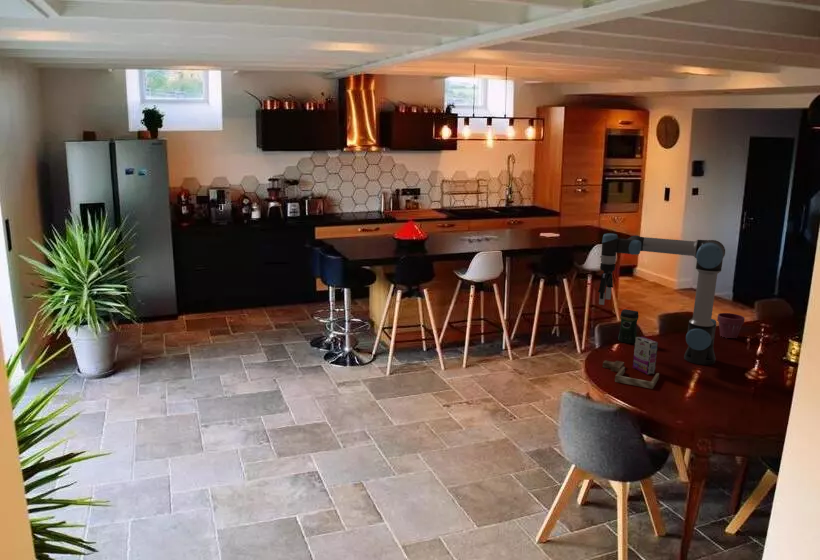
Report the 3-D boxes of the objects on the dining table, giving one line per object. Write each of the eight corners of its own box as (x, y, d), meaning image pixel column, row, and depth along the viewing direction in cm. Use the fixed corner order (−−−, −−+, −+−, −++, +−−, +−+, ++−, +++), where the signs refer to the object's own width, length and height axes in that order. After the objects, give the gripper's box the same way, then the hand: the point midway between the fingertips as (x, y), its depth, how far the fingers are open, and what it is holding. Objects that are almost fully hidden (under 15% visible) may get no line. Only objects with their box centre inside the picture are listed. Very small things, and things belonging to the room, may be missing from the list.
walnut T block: (623, 366, 350) (624, 362, 349) (619, 372, 341) (619, 367, 341) (605, 363, 354) (606, 358, 353) (600, 368, 345) (601, 364, 345)
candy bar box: (655, 374, 340) (658, 342, 336) (647, 375, 338) (650, 343, 334) (639, 366, 350) (642, 335, 346) (631, 367, 348) (634, 336, 344)
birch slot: (658, 379, 333) (659, 373, 332) (652, 388, 320) (653, 382, 319) (622, 372, 341) (622, 366, 341) (614, 381, 328) (615, 375, 328)
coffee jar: (638, 341, 391) (641, 310, 387) (633, 345, 385) (636, 313, 381) (621, 338, 397) (624, 307, 393) (616, 341, 391) (619, 310, 387)
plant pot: (738, 334, 409) (741, 313, 406) (744, 341, 396) (747, 320, 393) (713, 332, 412) (715, 311, 409) (717, 339, 399) (720, 318, 396)
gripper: (606, 258, 375) (603, 296, 380) (594, 266, 354) (591, 305, 358) (620, 260, 371) (617, 298, 376) (609, 267, 350) (605, 307, 355)
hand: (604, 301), depth 367 cm, fingers open, 13 cm apart
